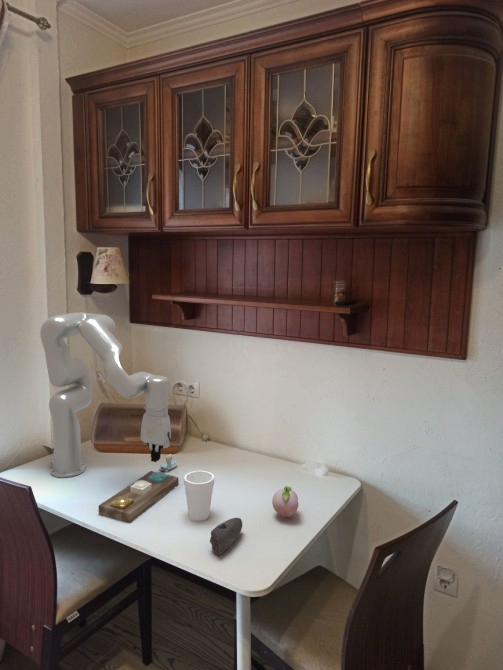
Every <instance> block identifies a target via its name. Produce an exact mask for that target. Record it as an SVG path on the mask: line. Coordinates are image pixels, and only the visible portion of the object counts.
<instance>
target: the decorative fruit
mask: <svg viewBox="0 0 503 670" xmlns="http://www.w3.org/2000/svg"><path fill="white" fill-rule="evenodd" d="M271 504H272V508H273V510H274V511H275V512H276V514H278V516H281V517H283V518H289V517H292V516H294V515H295V514H296V513H297V510H298V509H299V497H298V495H297V493H296V491H295V490H293V489H292V487H291V486H288V485H286V486H284V487H283V488H281V489H279V490H277V491H276V492H274V494H273V496H272V501H271Z"/></svg>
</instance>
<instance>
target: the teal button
mask: <svg viewBox="0 0 503 670" xmlns="http://www.w3.org/2000/svg"><path fill="white" fill-rule="evenodd" d="M153 472H154V473H153V474H152V475H151V476H149V477H148V481H152V482H157V483H161V482H163V481H164V480H166V479H167V478H168V475H169V474H166V473H164V472H162V471H153Z"/></svg>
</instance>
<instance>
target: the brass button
mask: <svg viewBox="0 0 503 670" xmlns="http://www.w3.org/2000/svg"><path fill="white" fill-rule="evenodd" d="M131 504H133V499H131V498H129V497H127V496H119V497H117V498H116V499H115V500H114V501H113V502H111V507H115V508H118V509H122V510H124V509H126V508H127V507H128V506H130V505H131Z"/></svg>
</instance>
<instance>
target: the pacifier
mask: <svg viewBox="0 0 503 670" xmlns="http://www.w3.org/2000/svg"><path fill="white" fill-rule="evenodd" d="M177 465H178V461H177V460H173V455H172V454H171V453H170V454H168V455H167V456H166V458H165V463H163V464H161V465H160V466H159V467H158V470H159V471H165V470H168V471H171V470H172V469H174V468H175V467H176V466H177Z"/></svg>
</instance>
